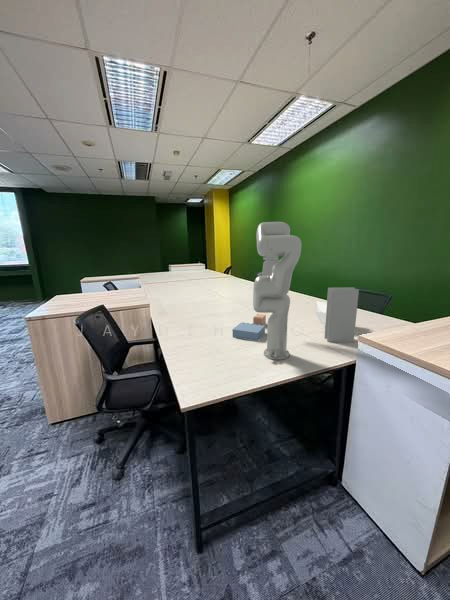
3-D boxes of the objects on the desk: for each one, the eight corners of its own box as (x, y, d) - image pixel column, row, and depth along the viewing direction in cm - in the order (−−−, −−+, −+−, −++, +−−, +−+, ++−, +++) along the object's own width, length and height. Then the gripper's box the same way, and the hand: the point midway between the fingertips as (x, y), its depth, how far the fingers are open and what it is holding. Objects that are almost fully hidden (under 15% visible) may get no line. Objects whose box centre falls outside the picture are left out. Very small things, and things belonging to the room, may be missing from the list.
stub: (261, 327, 162) (261, 318, 160) (253, 325, 164) (253, 317, 163) (265, 323, 170) (265, 314, 168) (257, 322, 172) (257, 313, 171)
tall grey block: (349, 338, 140) (354, 287, 133) (353, 342, 134) (359, 289, 128) (324, 338, 141) (328, 287, 135) (327, 341, 136) (331, 289, 129)
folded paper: (341, 306, 144) (356, 304, 154) (308, 299, 164) (323, 298, 173) (337, 333, 147) (353, 330, 157) (305, 323, 167) (321, 321, 176)
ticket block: (257, 341, 139) (258, 332, 138) (232, 337, 146) (232, 328, 145) (265, 332, 152) (265, 324, 151) (241, 329, 159) (241, 321, 158)
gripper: (255, 259, 142) (255, 288, 146) (285, 259, 135) (284, 289, 138) (259, 259, 149) (259, 286, 152) (287, 258, 142) (286, 287, 145)
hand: (271, 287), depth 145 cm, fingers open, 9 cm apart
